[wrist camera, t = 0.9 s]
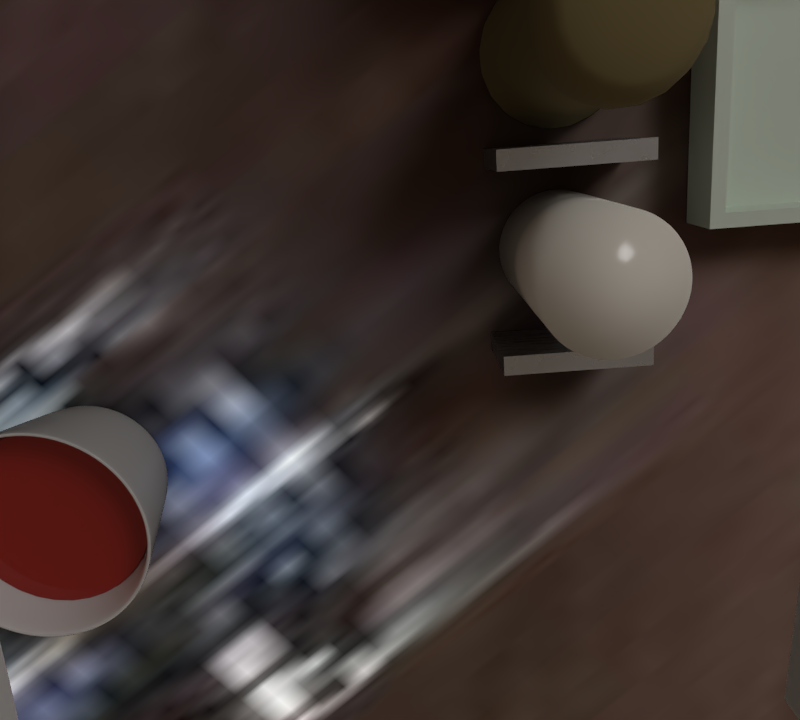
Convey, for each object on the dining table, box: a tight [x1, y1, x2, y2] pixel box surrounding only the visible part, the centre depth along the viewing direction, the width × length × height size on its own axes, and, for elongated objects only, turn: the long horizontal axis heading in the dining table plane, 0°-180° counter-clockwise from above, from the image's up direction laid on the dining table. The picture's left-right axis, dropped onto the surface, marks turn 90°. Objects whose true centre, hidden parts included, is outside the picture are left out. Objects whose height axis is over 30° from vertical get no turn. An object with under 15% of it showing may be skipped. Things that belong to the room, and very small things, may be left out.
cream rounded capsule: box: [499, 189, 692, 360], centre depth 28 cm, size 5×5×9 cm
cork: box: [479, 0, 715, 129], centre depth 25 cm, size 6×6×11 cm
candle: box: [0, 406, 168, 637], centre depth 32 cm, size 9×9×6 cm
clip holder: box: [484, 137, 658, 376], centre depth 28 cm, size 25×6×4 cm, turn 4°
